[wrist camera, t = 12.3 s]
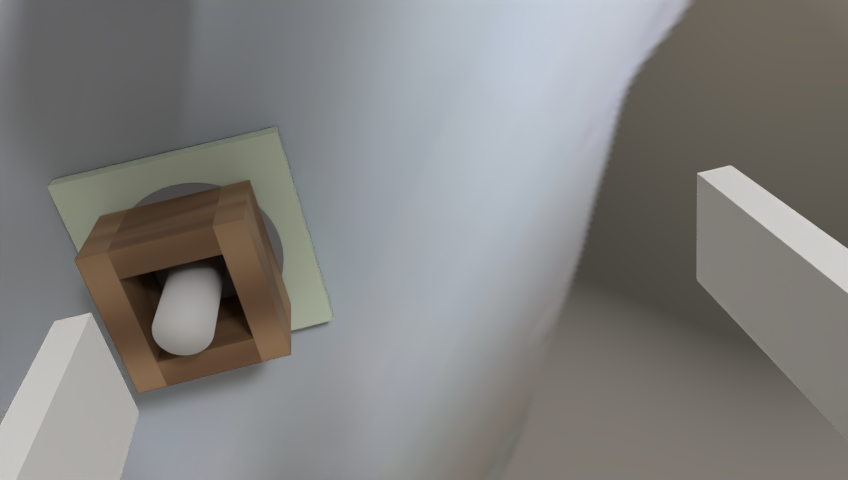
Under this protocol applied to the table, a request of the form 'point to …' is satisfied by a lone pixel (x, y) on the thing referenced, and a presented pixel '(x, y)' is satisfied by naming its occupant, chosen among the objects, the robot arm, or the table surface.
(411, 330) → the table surface
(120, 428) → the robot arm
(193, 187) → the peg stand
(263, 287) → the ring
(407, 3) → the table surface
